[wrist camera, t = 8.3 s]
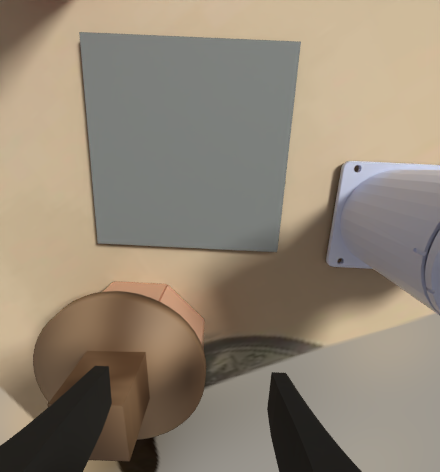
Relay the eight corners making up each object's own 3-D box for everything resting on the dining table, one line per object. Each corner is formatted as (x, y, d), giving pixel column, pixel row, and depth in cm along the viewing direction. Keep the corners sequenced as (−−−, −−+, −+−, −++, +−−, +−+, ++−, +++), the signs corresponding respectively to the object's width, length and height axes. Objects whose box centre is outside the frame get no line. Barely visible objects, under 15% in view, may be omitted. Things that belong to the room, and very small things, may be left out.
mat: (298, 46, 17) (300, 41, 16) (275, 249, 20) (277, 252, 20) (84, 36, 17) (79, 32, 16) (101, 241, 20) (97, 243, 20)
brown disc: (205, 292, 17) (197, 342, 12) (206, 428, 20) (201, 510, 15) (28, 289, 17) (-48, 337, 12) (57, 425, 20) (6, 505, 16)
